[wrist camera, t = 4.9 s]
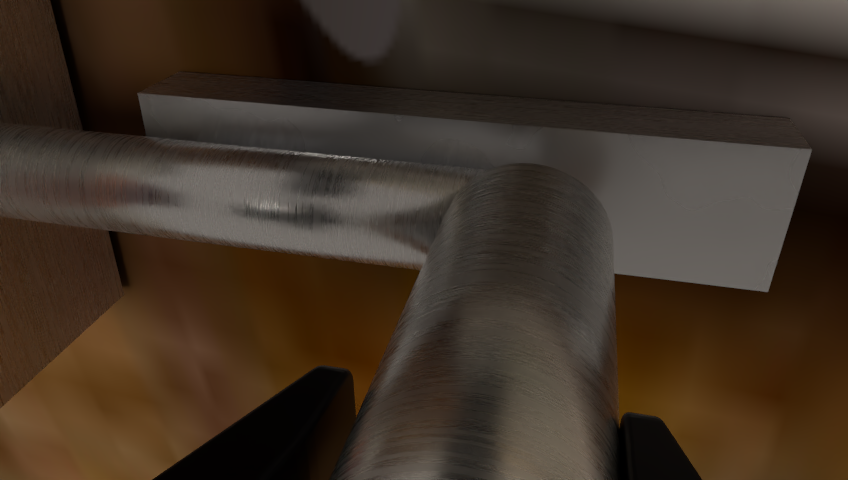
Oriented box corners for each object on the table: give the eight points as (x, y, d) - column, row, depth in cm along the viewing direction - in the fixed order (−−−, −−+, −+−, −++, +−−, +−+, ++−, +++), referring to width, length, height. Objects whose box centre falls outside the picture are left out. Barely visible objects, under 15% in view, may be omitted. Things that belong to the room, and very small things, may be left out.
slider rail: (789, 117, 13) (812, 149, 12) (751, 249, 15) (768, 292, 13) (179, 71, 16) (137, 92, 14) (199, 188, 17) (162, 218, 16)
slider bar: (650, -83, 12) (1362, 799, 1) (581, 361, 17) (543, 1354, 6) (-37, -100, 15) (-2089, 42, 3) (76, 287, 20) (-625, 863, 8)
